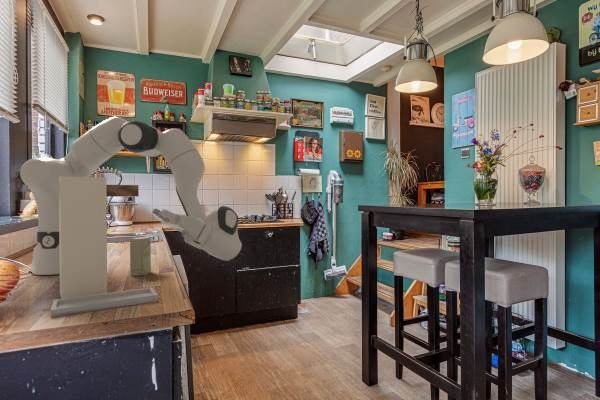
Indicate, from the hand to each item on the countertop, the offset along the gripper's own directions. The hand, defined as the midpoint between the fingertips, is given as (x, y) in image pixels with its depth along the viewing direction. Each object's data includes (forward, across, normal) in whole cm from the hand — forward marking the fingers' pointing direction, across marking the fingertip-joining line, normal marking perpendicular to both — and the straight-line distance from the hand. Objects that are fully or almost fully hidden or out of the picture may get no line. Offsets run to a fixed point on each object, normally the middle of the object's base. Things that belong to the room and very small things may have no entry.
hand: (157, 210), depth 105 cm
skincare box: (-10, -17, +19) cm, 28 cm away
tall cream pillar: (+6, 0, +28) cm, 29 cm away
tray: (+2, +14, +26) cm, 30 cm away
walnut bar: (+15, 0, +4) cm, 15 cm away
